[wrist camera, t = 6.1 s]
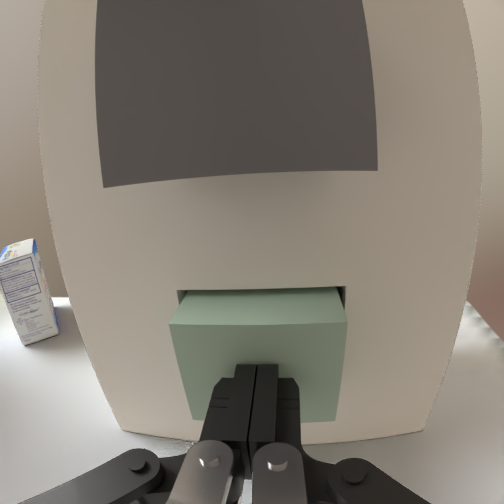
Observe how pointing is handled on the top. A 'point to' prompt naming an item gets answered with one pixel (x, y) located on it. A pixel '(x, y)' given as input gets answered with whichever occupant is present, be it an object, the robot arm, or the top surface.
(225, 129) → the charcoal key
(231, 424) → the robot arm
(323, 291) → the sage key
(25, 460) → the top surface
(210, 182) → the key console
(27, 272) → the medicine box
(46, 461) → the top surface
